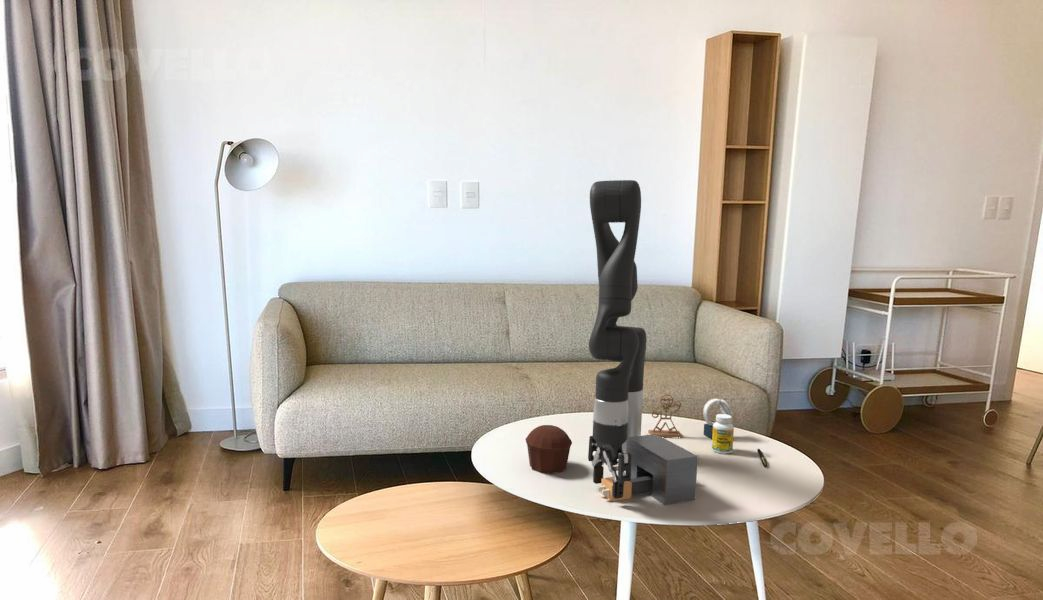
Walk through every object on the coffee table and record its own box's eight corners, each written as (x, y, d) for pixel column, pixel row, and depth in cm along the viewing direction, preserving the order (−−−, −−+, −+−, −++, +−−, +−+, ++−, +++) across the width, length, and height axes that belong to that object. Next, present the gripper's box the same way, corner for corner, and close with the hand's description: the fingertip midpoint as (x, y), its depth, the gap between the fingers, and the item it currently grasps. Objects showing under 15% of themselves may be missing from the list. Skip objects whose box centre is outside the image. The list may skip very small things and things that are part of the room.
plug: (594, 494, 152) (595, 479, 152) (685, 479, 162) (686, 465, 162) (605, 502, 148) (605, 486, 148) (697, 486, 158) (698, 472, 158)
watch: (733, 439, 193) (736, 401, 192) (707, 441, 191) (710, 402, 190) (722, 433, 198) (725, 396, 197) (697, 434, 196) (699, 397, 195)
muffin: (580, 471, 166) (581, 431, 165) (540, 478, 161) (541, 437, 159) (554, 455, 176) (555, 418, 175) (516, 462, 171) (517, 423, 170)
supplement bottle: (729, 448, 186) (732, 413, 184) (734, 454, 180) (736, 419, 179) (709, 447, 186) (711, 412, 185) (713, 453, 181) (715, 418, 179)
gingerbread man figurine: (650, 437, 193) (652, 395, 192) (647, 433, 197) (649, 392, 195) (682, 438, 193) (684, 396, 192) (678, 433, 197) (681, 392, 195)
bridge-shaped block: (625, 478, 162) (626, 437, 161) (653, 474, 165) (655, 433, 164) (664, 505, 148) (667, 460, 146) (695, 500, 151) (697, 456, 149)
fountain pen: (755, 450, 185) (755, 445, 185) (760, 450, 185) (760, 445, 185) (763, 469, 171) (764, 463, 171) (768, 469, 171) (769, 463, 171)
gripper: (579, 411, 154) (577, 480, 156) (612, 429, 141) (609, 505, 143) (608, 408, 157) (606, 476, 159) (643, 426, 144) (640, 500, 146)
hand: (607, 490), depth 151 cm, fingers open, 8 cm apart
